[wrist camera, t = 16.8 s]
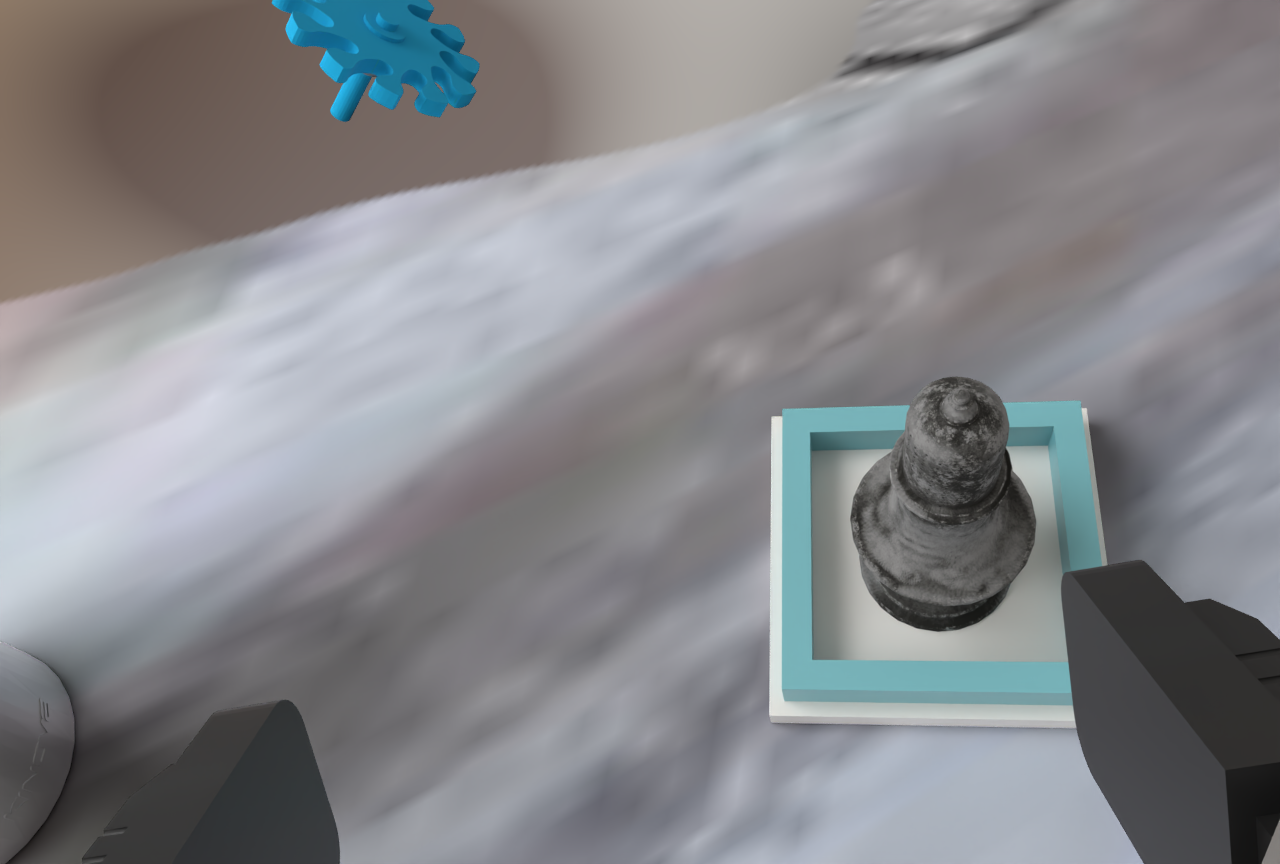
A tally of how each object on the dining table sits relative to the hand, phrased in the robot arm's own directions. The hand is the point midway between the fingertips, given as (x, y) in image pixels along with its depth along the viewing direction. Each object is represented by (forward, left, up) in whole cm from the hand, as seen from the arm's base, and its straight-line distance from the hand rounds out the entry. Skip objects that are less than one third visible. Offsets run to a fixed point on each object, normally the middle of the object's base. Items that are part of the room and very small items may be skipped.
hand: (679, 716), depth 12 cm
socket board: (+5, +13, -29) cm, 32 cm away
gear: (-19, +38, -29) cm, 52 cm away
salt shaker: (+5, +13, -28) cm, 31 cm away
